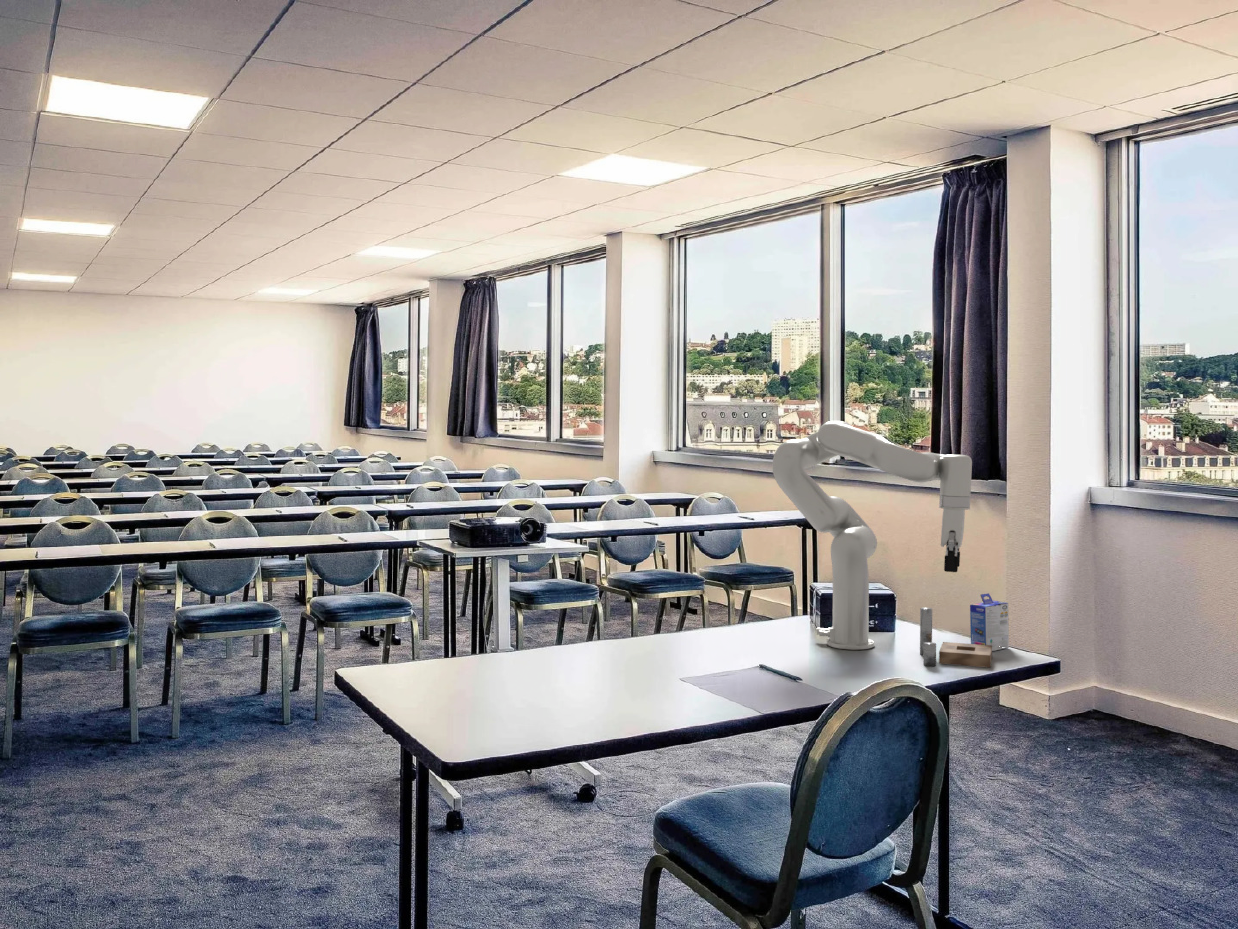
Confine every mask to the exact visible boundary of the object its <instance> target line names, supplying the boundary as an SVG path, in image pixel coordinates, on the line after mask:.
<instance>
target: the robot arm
mask: <svg viewBox="0 0 1238 929" xmlns="http://www.w3.org/2000/svg"><path fill="white" fill-rule="evenodd" d="M837 456H840V457H842V458H843V457H844V458H846V459H848V460H852V461H855V462H858V463H861V464H864V465H866V466H869V467H871V468H874V469H877V470H879V471H883V472H885V473H888V474H890V475H893V476H896V477H899V478H902V479H905V480H907V481H911V482H915V483H920V484H922V483H927V482H933V481H940V482H939V483H940V484H939V504H938V505H939V506H938V508H939V509H943V510H942V517H941V535H940V546H941V547H942V548H944V546H945V547H946V548H945V555H944V562H943V570H944V572H946V573H957V572H958V569H959V568H958V567H960V565H961V564H960V562H961V551H960V548H961V547H962V544H963V543H962V542H963V538H964V532H965V531H964V530H965V518H966V517H965V516H966V511H967V510H971V496H972V494H971V493H972V492H971V490H972V473H973V472H972V471H973V470H972V468H973V467H972V466H973V461H972V458H971V456H969V455H967V454H942V453H934V452H928V451H927V452H919V451H915V450H911V449H909V448H905V447H903V446H900V445H897V444H895V443H892V442H890V441H888V440H887V439H886V438H885V437H884V436H882V435H880V434H878V433H875V432H871V431H867V430H864V429H861V428H859V427H854V426H852V425H851V424H850V423H849V422H846V421H842V420H831V421H827V422H825V423H823V424H822V425H821V426H820V427H819V429H818V431H816V432H814V433H812V434H810V435H808V436H806V437H803V438H793V439H788V440H785V441H784V442H782V443H781V444H780V445H779V446H778V447H777V449H776V450H775V452H774V454H773V457H772V458H773V459H772V466H771V467H772V474H773V477H774V479H775V481H776V484H778V487H779V488H780V489H781V490H782V492H783V493H784V494H785V495H786V496H787V497H788V499H789V500H790V501H791V502H792V503H793V505H794V506H795V508H797V510H798V511H799V512H800V513H801V515H802V516H803V517H804V518H805V519H806V521H807V522H808V523H809V524H810V525H811V526H812V527H813V529H815V530H816V531H817V532H820V533H826V534H827V533H830V534H831V536H832V537H833V539H832V541H831V544H830V560H831V567H832V568H831V570H832V626H831V627H828V628H824V627H817V628H816V632H815V633H816V635H817V636H819V637H828V638H827V639H826V645H827V646H829V647H832V648H834V649H841V650H848V651H849V650H855V651H856V650H857V651H859V650H860V651H861V650H867V649H872V648H874V647H875V641H874V640H873V639H871V638H869V630H870V629H869V628H870V626H869V623H870V622H869V619H870V616H869V612H870V609H869V608H870V598H869V597H870V595H869V594H870V585H869V584H870V578H869V577H870V576H869V575H870V574H869V565H868V559H869V558H870V557H871V556H872V555H874V554H875V552H876V551H877V546H878V541H877V536H876V534H875V533H874V531H873V530H872V528H871V527H870V526H869V525H868V524H867V522H866V521H865V520H864V519H863V517H861V515H859V514H858V512H857V511H856V510H855V509H854V508H853V507H852V505H850V504H849V503H848V501H846V500H844V499H843V498H841V497H839V496H829V495H828V494H827V492H825V491H824V490H823V489H822V487H821V486H820V485H819V484H818V483H817V482H816V480H815V479H813V478H812V477H811V475H809V474H808V473H807V471H806V469H807V470H808V469H810V468H813V467H815V466H817V465H819V464H821V463H824V462H826V461H828V460H831V459H833V458H835V457H837Z"/></svg>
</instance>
